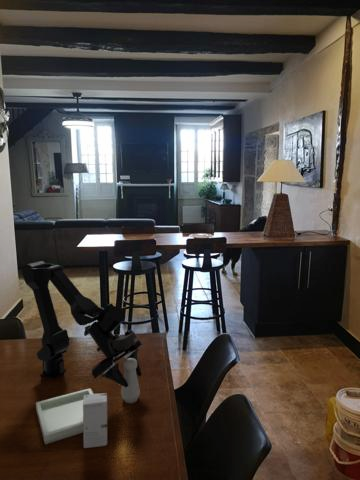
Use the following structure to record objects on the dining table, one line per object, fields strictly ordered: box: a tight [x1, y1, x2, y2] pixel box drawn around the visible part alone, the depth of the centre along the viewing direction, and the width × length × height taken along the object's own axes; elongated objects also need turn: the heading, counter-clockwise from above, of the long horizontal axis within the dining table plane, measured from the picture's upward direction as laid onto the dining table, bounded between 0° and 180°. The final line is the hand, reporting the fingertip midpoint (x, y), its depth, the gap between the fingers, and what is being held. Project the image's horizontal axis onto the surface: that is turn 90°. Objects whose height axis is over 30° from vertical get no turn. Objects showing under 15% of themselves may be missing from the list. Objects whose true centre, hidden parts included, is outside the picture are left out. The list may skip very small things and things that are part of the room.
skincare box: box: [82, 392, 108, 449], centre depth 94 cm, size 6×4×12 cm
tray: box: [35, 387, 94, 445], centre depth 104 cm, size 16×16×2 cm
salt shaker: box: [120, 358, 141, 404], centre depth 112 cm, size 6×6×13 cm
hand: (134, 380), depth 111 cm, fingers open, 7 cm apart
